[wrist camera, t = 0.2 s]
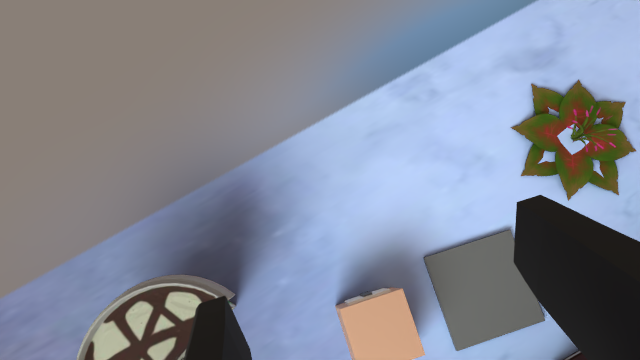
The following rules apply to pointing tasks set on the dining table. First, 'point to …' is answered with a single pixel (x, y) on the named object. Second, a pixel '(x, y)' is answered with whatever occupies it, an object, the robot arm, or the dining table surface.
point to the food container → (150, 320)
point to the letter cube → (380, 326)
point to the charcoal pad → (482, 290)
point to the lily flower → (575, 138)
